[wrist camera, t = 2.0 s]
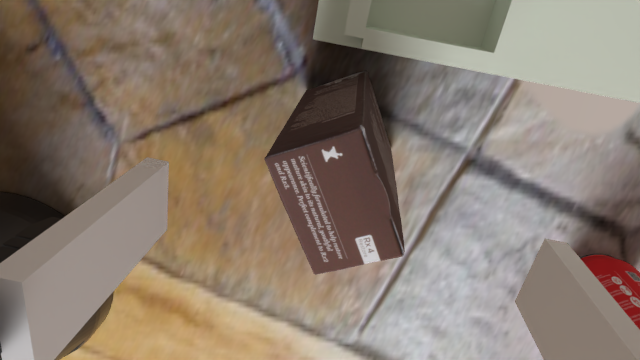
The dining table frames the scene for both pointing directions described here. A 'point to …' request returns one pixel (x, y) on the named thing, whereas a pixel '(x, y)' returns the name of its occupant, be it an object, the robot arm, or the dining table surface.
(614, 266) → the beverage can
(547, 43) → the pale green holder tray
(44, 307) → the robot arm
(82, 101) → the dining table surface
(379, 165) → the box
